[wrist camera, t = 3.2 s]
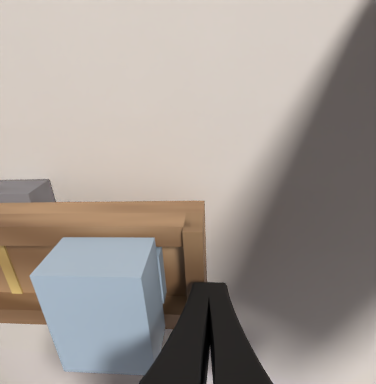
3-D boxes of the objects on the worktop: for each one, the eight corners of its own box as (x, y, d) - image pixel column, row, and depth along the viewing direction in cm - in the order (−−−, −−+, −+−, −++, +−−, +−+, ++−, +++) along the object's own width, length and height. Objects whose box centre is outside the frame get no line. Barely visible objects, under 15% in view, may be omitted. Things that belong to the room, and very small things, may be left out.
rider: (168, 308, 15) (156, 376, 11) (95, 306, 15) (64, 371, 12) (159, 223, 12) (141, 277, 9) (74, 223, 13) (29, 275, 10)
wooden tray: (207, 276, 18) (206, 344, 14) (-83, 272, 20) (-166, 329, 16) (205, 176, 15) (201, 221, 11) (-135, 182, 17) (-253, 222, 13)
